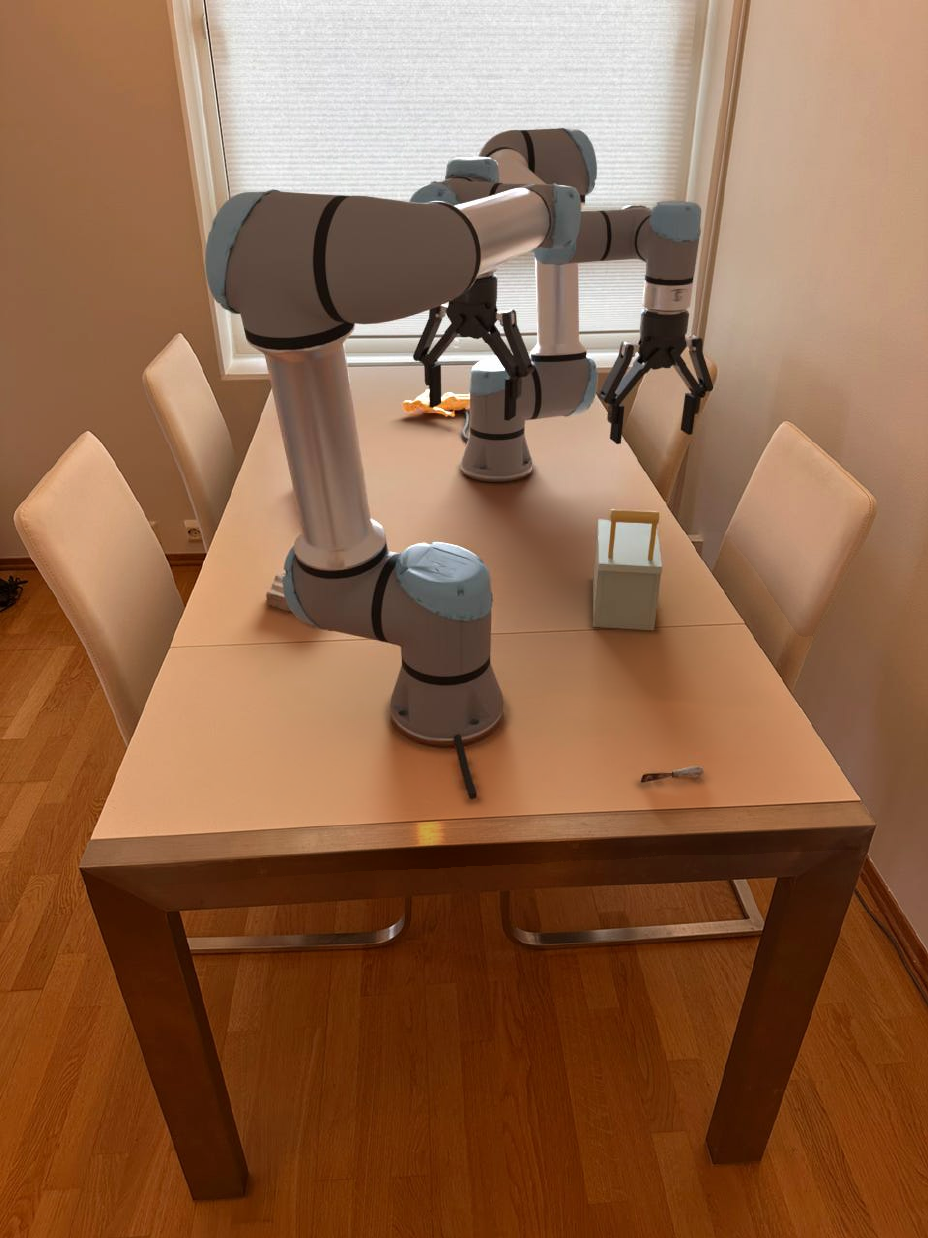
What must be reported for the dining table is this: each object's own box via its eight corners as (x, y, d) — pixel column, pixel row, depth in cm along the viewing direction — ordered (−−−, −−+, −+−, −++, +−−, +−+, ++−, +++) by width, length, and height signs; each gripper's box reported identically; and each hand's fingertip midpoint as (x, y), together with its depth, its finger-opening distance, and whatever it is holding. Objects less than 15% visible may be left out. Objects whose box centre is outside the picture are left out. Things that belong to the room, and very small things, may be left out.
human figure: (395, 413, 223) (394, 398, 221) (438, 390, 237) (438, 375, 235) (462, 429, 215) (462, 413, 213) (502, 404, 229) (503, 388, 227)
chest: (653, 630, 138) (661, 572, 133) (593, 627, 139) (598, 568, 134) (649, 584, 150) (655, 528, 145) (593, 581, 151) (597, 525, 146)
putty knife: (703, 777, 109) (705, 767, 109) (642, 788, 108) (644, 777, 107) (700, 772, 110) (702, 762, 109) (639, 782, 109) (640, 771, 108)
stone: (356, 590, 149) (354, 577, 147) (319, 626, 139) (317, 612, 138) (289, 576, 153) (287, 563, 152) (249, 610, 144) (247, 596, 142)
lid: (661, 574, 132) (668, 518, 127) (598, 570, 133) (602, 515, 128) (655, 528, 145) (662, 476, 140) (597, 525, 146) (602, 474, 141)
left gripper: (559, 276, 131) (552, 416, 142) (413, 262, 141) (417, 393, 152) (538, 285, 126) (532, 430, 137) (388, 270, 136) (394, 406, 147)
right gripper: (604, 320, 135) (594, 452, 147) (747, 308, 142) (726, 435, 153) (583, 309, 141) (575, 437, 153) (721, 297, 148) (703, 421, 159)
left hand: (472, 411), depth 145 cm, fingers open, 13 cm apart
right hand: (651, 436), depth 153 cm, fingers open, 13 cm apart
